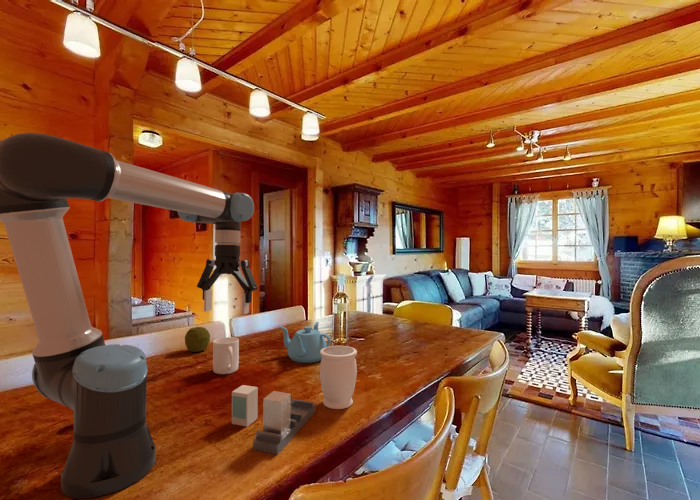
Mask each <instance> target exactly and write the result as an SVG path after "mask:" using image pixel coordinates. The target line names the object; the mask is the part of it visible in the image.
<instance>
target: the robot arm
mask: <svg viewBox="0 0 700 500" xmlns="http://www.w3.org/2000/svg"><path fill="white" fill-rule="evenodd" d="M68 199H80V200H81V199H83V200H89V201H95V202H103V201H105V200H106V199H112V200H116V201H117V200H118V201H122V202H128V203H132V204H139V205H142V206H143V205H144V206H150V207H153V208H154V207H155V208H160V209H166V210H170V211H175V212H177V214H178V217H179V218H180V219H181V221H184V222H190V223H191V224H192V223H199V224H212V225H214V229H215V231H214V243H216V245H214V256H215V259H214V258H207V259H206V262H205V267H204V269H203V271H202V273H201V276H200V278H199V280H198V282H197V285H196V287H197V288H198V289H201V290H202V301H203V312H208V311H212V310H213V307H212V305H213V289H212V286H213V285H214V284H215V283H216V281H217V280H218V279H219V277H220V276H221V275H232V276H233V277H234V278H235V280H236V281H237V282H238V285H240V287H241V288H242V289H243V291H244V292H242V293H241V300H242V301H241V315H246V314H249V313H250V303H252V297H253V296H252V295H253V294H252V293H253V292H254V291H257V290H258V285H257V283H256V280H255V278H254V275H253V273H252V270H251V268H250V262H249V260H248V259H243V260H240V256H241V245H239V244H241V230H242V229H241V228H242V227H241V225H242V224H241V223H242V222H246V221H249V220H250V219H251V218H252V217H253V215H254V212H255V204H254V200H253V198H252V197H251V196H250V194H247V193H245V192H234V193H233V192H228V191H225V190H221V189H217V188H214V187H209V186H208V185H203V184H201V183H197V182H194V181H193V182H192V181H190V180H186V179H183V178H179V177H176V176H173V175H169V174H165V173H162V172H159V171H155V170H151V169H148V168H145V167H142V166H141V167H140V166H138V165H134V164H131V163H128V162H124V161H122V160H117V159H116V158H115V156H114V154H112V153H111V152H108V151H105V150H103V149H99V148H96V147H92V146H89V145H86V144H83V143H79V142H76V141H73V140H70V139H65V138H63V137H59V136H56V135H52V134H46V133H41V132H22V133H21V132H20V133H16V134H13V135H11V136H8V137H6V138H4V139H1V140H0V222H1V224H3V225H4V228H5V231H6V235H7V238H8V242H9V244H10V247H11V251H12V254H13V258H14V261H15V265H16V267H17V268H16V269H17V272H18V275H19V279H20V282H21V285H22V288H23V292H24V295H25V298H26V302H27V304H28V307H29V311H30V314H31V318H32V321H33V324H34V328H35V330H36V335H37V338H38V342H37V344H36V345H35V346H34V348H32V351H31V354H32V357H33V361H34V364H33V367H32V371H31V377H32V383H33V385H34V387H35V389H36V390H37V391H38V392H39V394H41V395H42V396H43V397H44V398H45V399H46V398H47V399H48V400H51V401H54V402H56V403H58V404H61V405H62V406H64V407H66V408H69V409H70V410H72V411H73V412H72V413H73V441H72V444H71V447H70V450H69V453H68V455H67V459H66V462H65V464H64V467H63V469H62V471H61V475H60V490H61V492H62V494H63V495H65V496H67V497H69V498H74V499H91V498H96V497H101V496H107V495H110V494H112V493H113V494H114V493H116V492H119V491H121V490H123V489H125V488H128V487H129V486H131V485H133V484H135V483H136V482H138V481H139V480H141V479H142V478H144V477H145V476H146V475H147V474H148V473H149V472H151V470H152V469H153V467H154V466H155V464H156V460H157V449H156V445H155V442H154V440H153V437H152V434H151V432H150V429H149V427H148V424H147V395H148V394H147V388H148V387H147V385H148V384H147V383H148V381H147V378H148V377H147V375H148V364H147V357H146V354H145V351H144V350H142V349H140V348H139V347H136V346H134V345H129V344H122V345H120V344H115V343H114V344H105V343H106V341H105V338H104V335H103V332H102V330H101V329H99V328H96V327H94V326H92V323H91V320H90V316H89V312H88V309H87V305H86V302H85V297H84V294H83V290H82V289H83V288H82V286H81V282H80V279H79V275H78V271H77V268H76V264H75V261H74V257H73V253H72V248H71V245H70V241H69V238H68V234H67V233H68V232H67V230H66V225H65V222H64V216H65V214H66V213H68V211H69V210H70V204H69V200H68ZM214 267H216V268H214ZM239 267H240V268H241V269H240V268H239ZM241 270H242V271H241ZM242 273H243V274H242Z"/></svg>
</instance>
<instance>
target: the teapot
mask: <svg viewBox="0 0 700 500" xmlns="http://www.w3.org/2000/svg"><path fill="white" fill-rule="evenodd" d="M319 323H320V322H319V321H316V322H315V323H314V325H313V327H312V326H309V325H306V326H304V327H303V329H300V330H297V331H296V332H295V333H294V334H293V336H292V338H290V336H289V332H288V328H286V327H284V326H282V325H279V328H280V329H281V330H282V332H283V345H284V347H285V348H286V349H287V355H288V357H289V358H290V359H291V360H292V361H293V362H295V363H300V364H312V363H318V362H319V361H320V362H321V359H322V356H321V355H320V351H321V349H323V348H325V347H329V346H331V337H330V335H328V334H327V333H321V331H319ZM312 328H313V329H312ZM325 338H326V339H327V340H325ZM326 341H327V342H326Z"/></svg>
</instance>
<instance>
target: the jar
mask: <svg viewBox="0 0 700 500" xmlns="http://www.w3.org/2000/svg"><path fill="white" fill-rule="evenodd" d="M357 354H358V351H357V349H356V348H354V347H352V346H348V345H330V346H329V347H325V348H323V349H321V351H320V355H321V356H322V359H321V361H320V364H319V378H320V379H319V380H320V384H321V391H322V394H323V397H324V399H322V400H323V401H322V404H323V405H324V407H326V408H328V409H332V410H343V409H347V408H350V407H351V406H352V405H353V403H354V402H353V398H352V397H353V395H354V392H355V387H356V381H357V374H358V369H357V368H358V367H357V365H358V364H357V360H356V356H357Z"/></svg>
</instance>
